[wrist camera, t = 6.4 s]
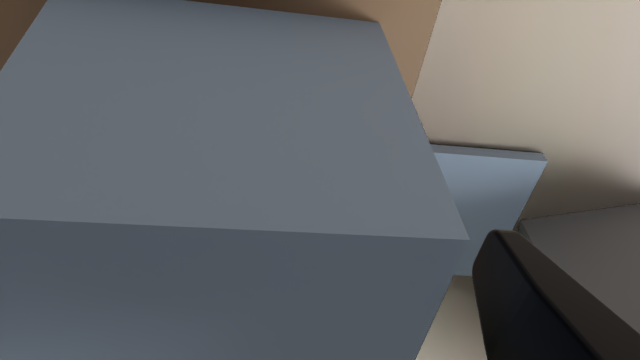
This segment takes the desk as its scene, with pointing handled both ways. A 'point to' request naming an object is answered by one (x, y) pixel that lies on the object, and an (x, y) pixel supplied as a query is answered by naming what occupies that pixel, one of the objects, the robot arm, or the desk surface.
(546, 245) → the charcoal cube
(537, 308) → the robot arm
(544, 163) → the swatch
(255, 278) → the blue cube
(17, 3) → the walnut plinth
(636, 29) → the desk surface
